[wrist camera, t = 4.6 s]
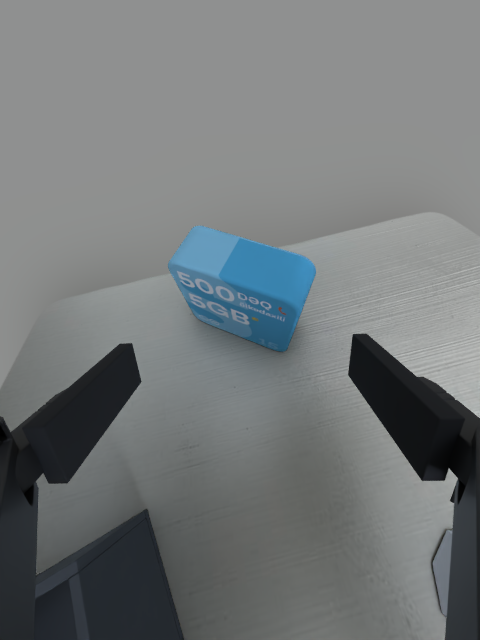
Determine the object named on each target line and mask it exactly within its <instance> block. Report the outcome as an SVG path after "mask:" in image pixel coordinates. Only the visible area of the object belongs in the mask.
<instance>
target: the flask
mask: <svg viewBox="0 0 480 640" xmlns="http://www.w3.org/2000/svg"><path fill="white" fill-rule="evenodd" d="M451 545H452V530H447V531H446V533H445V536H444V538H443V540H442V543H441V545H440V547H439V549H438V552H437V554H436V556H435V558H434V561H433V563H432V564H433V569H434V574H435V579H436V584H437V589H438V594H439V600H440V605H441V610H442V613H443V614H444V615H445V616H446V617H447V604H448V589H449V574H450V560H451Z"/></svg>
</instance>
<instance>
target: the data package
mask: <svg viewBox="0 0 480 640" xmlns="http://www.w3.org/2000/svg"><path fill="white" fill-rule="evenodd" d="M168 268H169V271H170V272H171V274H172V276H173V278H174V280H175V281H176V283H177V285H178V287H179V289H180V290H181V292H182V294H183V296H184V298H185V299H186V301H187V303H188V305H189V307H190V308H191V310H192V312H193V314H194V315H195V316H196V317H197V318H198V319H200V320H201V321H203V322H205V323H207V324H210V325H212V326H215V327H217V328H220V329H222V330H225V331H227V332H230V333H232V334H235V335H237V336H240V337H242V338H245V339H247V340H250V341H252V342H255V343H257V344H260V345H262V346H265V347H267V348H270V349H272V350H275V351H286V350H287V348H288V346H289V343H290V340H291V338H292V335H293V333H294V330H295V327H296V325H297V322H298V320H299V317H300V314H301V312H302V309H303V306H304V304H305V301H306V298H307V296H308V293H309V290H310V288H311V285H312V282H313V280H314V277H315V274H316V269H315V266H314V264H313V263H312V262H311V261H310V260H309V259H308V258H306V257H305V256H302V255H300V254H296V253H293V252H289V251H286V250H283V249H279V248H276V247H272V246H269V245H265V244H262V243H259V242H255V241H252V240H248V239H245V238H241V237H238V236H234V235H231V234H228V233H225V232H221V231H218V230H214V229H211V228H207V227H204V226H195V227H193V228H192V229H191V231H190V232H189V234H188V235H187V237H186V238H185V240H184V241H183V242H182V244H181V245H180V247H179V248H178V250H177V251H176V253H175V254H174V255H173V257H172V259H171V260H170V261H169V263H168Z"/></svg>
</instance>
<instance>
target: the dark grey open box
mask: <svg viewBox="0 0 480 640" xmlns="http://www.w3.org/2000/svg"><path fill="white" fill-rule="evenodd" d="M34 640H184V638H183V635H182V631H181V627H180V624H179V620H178V617H177V613H176V610H175V606H174V603H173V599H172V596H171V592H170V589H169V585H168V582H167V578H166V575H165V571H164V568H163V564H162V561H161V557H160V554H159V550H158V547H157V543H156V540H155V536H154V533H153V529H152V526H151V522H150V518H149V515H148V511H147V509H146V510H144V511H143V512H141V513H139V514H138V515H136V516H134V517H133V518H131V519H129V520H128V521H126V522H125V523H123V524H121V525H120V526H118V527H116V528H115V529H113V530H111V531H110V532H108V533H106V534H105V535H103V536H102V537H100V538H98V539H97V540H95V541H93V542H92V543H90V544H88V545H87V546H85V547H83V548H82V549H80V550H79V551H77V552H75V553H74V554H72V555H70V556H69V557H67V558H65V559H64V560H62V561H60V562H59V563H57V564H55V565H54V566H52V567H51V568H49V569H47V570H46V571H44V572H42V573H41V574H39V575H37V576H36V587H35V620H34Z"/></svg>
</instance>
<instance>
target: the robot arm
mask: <svg viewBox="0 0 480 640" xmlns="http://www.w3.org/2000/svg"><path fill="white" fill-rule="evenodd" d="M348 375H349V377H350V378H351V380H352V381H353V383H354V384H355V385H356V387H357V388H358V390H359V391H360V393H361V394H362V396H363V397H364V398H365V400H366V401H367V403H368V404H369V406H370V407H371V408H372V410H373V411H374V413H375V414H376V416H377V417H378V418H379V420H380V421H381V423H382V424H383V426H384V427H385V428H386V430H387V431H388V433H389V434H390V436H391V437H392V438H393V440H394V441H395V443H396V444H397V446H398V447H399V449H400V450H401V451H402V453H403V454H404V456H405V457H406V459H407V460H408V461H409V463H410V464H411V466H412V467H413V469H414V470H415V471H416V473H417V474H418V476H419V477H420V479H421V480H422V481H445V478H446V475H447V472H448V469H449V468H450V470H451V471H452V472H453V473H454V474H455V475H456V477H457V478H458V480H457V483H456V486H455V489H454V491H453V494H452V497H451V500H450V501H451V502H453V503H454V515H453V530H452V545H451V560H450V574H449V589H448V604H447V619H446V634H445V640H480V418H479V417H477V416H476V415H475V414H474V413H472V412H471V411H470V410H469V409H468V408H466V407H465V406H464V405H463V404H461V403H460V402H459V401H458V400H455V398H454V397H453V396H451V395H450V394H449V393H446V391H445V390H444V389H443V388H441V387H440V386H439V385H438V384H436V383H434V382H432V381H430V380H428V379H426V378H424V377H416V376H415V375H414V374H413V373H412V372H411V371H409V370H408V369H407V368H406V367H405V366H404V365H402V364H401V363H400V362H399V361H398V360H397V359H395V358H394V357H393V356H392V355H391V354H390V353H388V352H387V351H386V350H385V349H384V348H383V347H381V346H380V345H379V344H378V343H377V342H376V341H374V340H373V339H372V338H371V337H370V336H369V335H367V334H353V337H352V346H351V355H350V364H349V373H348ZM140 383H141V378H140V374H139V370H138V366H137V362H136V358H135V353H134V349H133V345H132V343H128V344H119V345H118V346H117V347H116V348H114V349H113V350H112V351H111V352H110V353H109V354H107V355H106V356H105V357H104V358H103V359H102V360H100V361H99V362H98V363H97V364H96V365H95V366H93V367H92V368H91V369H90V370H89V371H88V372H86V373H85V374H84V375H83V376H82V377H81V378H79V379H78V380H77V381H76V382H75V383H74V384H72V385H71V386H70V387H69V388H68V389H66V390H64V391H62V392H60V393H59V394H57V395H55V396H54V397H53V398H52V399H50V400H49V401H48V402H47V403H46V405H43V406H42V407H41V408H40V409H38V411H37V412H35V413H34V414H32V415H31V416H30V417H29V418H28V419H26V420H25V421H24V422H23V423H22V424H20V425H19V426H18V427H17V428H16V429H14V430H13V431H12V432H10V430H9V428H8V426H7V425H6V423H5V421H4V419H3V417H0V640H34V620H35V587H36V554H37V522H38V486H37V483H36V480H37V479H38V478H39V477H40V476H41V475H42V473H44V475H45V477H46V479H47V481H48V483H49V484H58V483H68V482H69V481H70V479H71V478H72V477H73V475H74V474H75V473H76V471H77V470H78V468H79V467H80V466H81V464H82V463H83V462H84V460H85V459H86V457H87V456H88V455H89V453H90V452H91V450H92V449H93V448H94V446H95V445H96V444H97V442H98V441H99V439H100V438H101V437H102V435H103V434H104V433H105V431H106V430H107V428H108V427H109V426H110V424H111V423H112V422H113V420H114V419H115V417H116V416H117V415H118V413H119V412H120V410H121V409H122V408H123V406H124V405H125V404H126V402H127V401H128V399H129V398H130V397H131V395H132V394H133V393H134V391H135V390H136V388H137V387H138V386H139V384H140Z"/></svg>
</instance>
